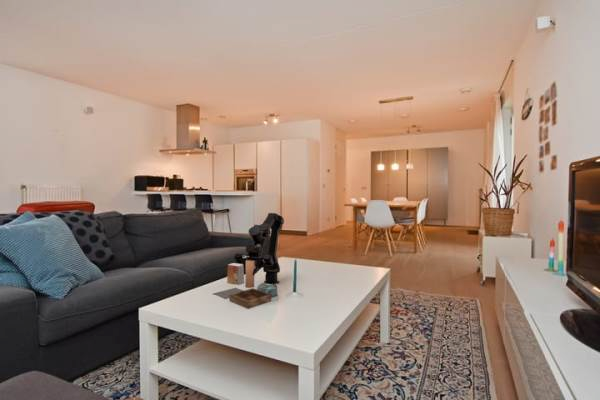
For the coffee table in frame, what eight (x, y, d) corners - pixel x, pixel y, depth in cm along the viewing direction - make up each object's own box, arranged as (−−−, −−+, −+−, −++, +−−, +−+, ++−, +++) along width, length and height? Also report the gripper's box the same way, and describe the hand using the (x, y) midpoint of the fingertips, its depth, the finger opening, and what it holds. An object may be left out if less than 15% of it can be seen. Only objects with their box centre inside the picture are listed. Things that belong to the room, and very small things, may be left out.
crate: (252, 295, 162) (252, 288, 162) (271, 302, 152) (271, 294, 152) (229, 301, 152) (229, 294, 151) (247, 309, 142) (247, 302, 142)
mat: (235, 288, 172) (235, 287, 172) (248, 293, 164) (248, 292, 164) (212, 294, 161) (212, 293, 161) (225, 300, 154) (225, 298, 154)
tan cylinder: (250, 284, 155) (250, 259, 155) (256, 286, 152) (256, 260, 152) (243, 286, 152) (243, 260, 151) (249, 288, 149) (249, 261, 149)
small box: (227, 282, 183) (227, 264, 182) (233, 280, 188) (233, 262, 187) (238, 284, 179) (238, 266, 179) (244, 282, 184) (244, 264, 183)
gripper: (235, 236, 157) (225, 264, 147) (271, 238, 153) (263, 267, 143) (242, 249, 165) (232, 276, 155) (276, 252, 161) (269, 279, 150)
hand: (248, 274), depth 150 cm, fingers closed on tan cylinder, 4 cm apart
